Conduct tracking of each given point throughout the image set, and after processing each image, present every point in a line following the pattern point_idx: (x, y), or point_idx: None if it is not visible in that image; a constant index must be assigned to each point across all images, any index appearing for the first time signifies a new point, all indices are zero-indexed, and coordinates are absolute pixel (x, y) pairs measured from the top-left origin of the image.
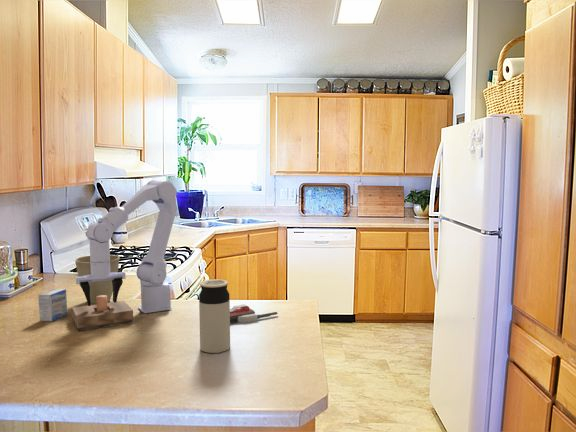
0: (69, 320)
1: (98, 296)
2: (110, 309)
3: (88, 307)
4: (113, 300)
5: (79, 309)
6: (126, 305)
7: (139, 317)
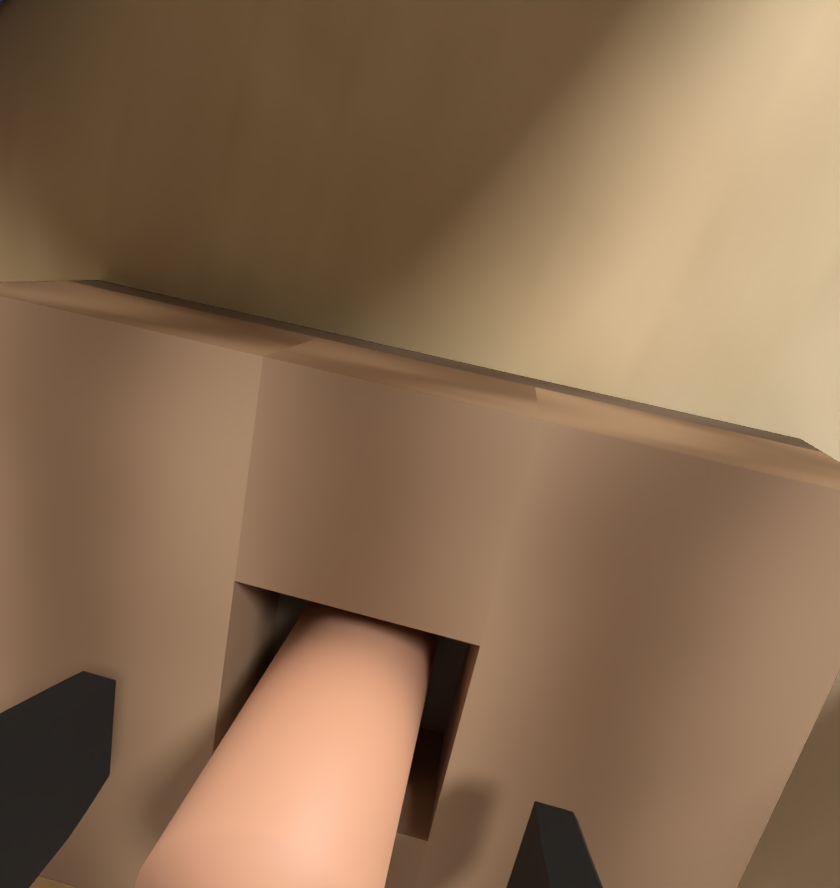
0: (60, 278)
1: (189, 883)
2: (442, 783)
3: (180, 490)
4: (523, 858)
5: (35, 501)
6: (730, 826)
7: (798, 784)
